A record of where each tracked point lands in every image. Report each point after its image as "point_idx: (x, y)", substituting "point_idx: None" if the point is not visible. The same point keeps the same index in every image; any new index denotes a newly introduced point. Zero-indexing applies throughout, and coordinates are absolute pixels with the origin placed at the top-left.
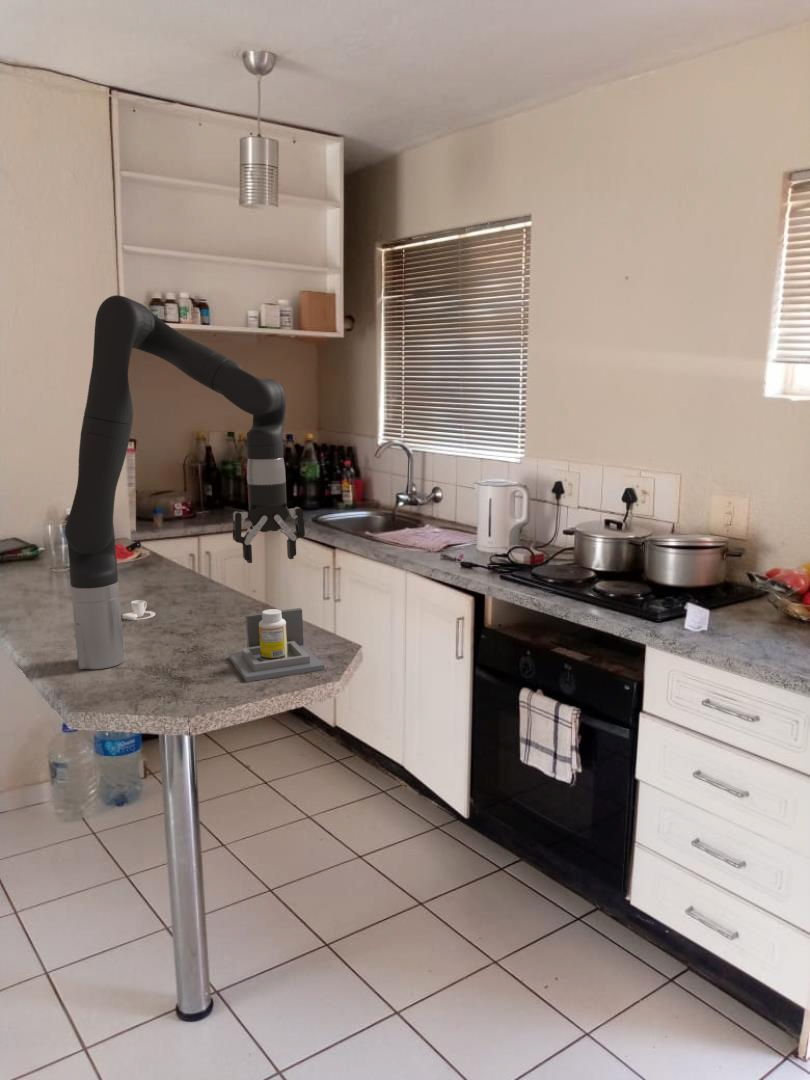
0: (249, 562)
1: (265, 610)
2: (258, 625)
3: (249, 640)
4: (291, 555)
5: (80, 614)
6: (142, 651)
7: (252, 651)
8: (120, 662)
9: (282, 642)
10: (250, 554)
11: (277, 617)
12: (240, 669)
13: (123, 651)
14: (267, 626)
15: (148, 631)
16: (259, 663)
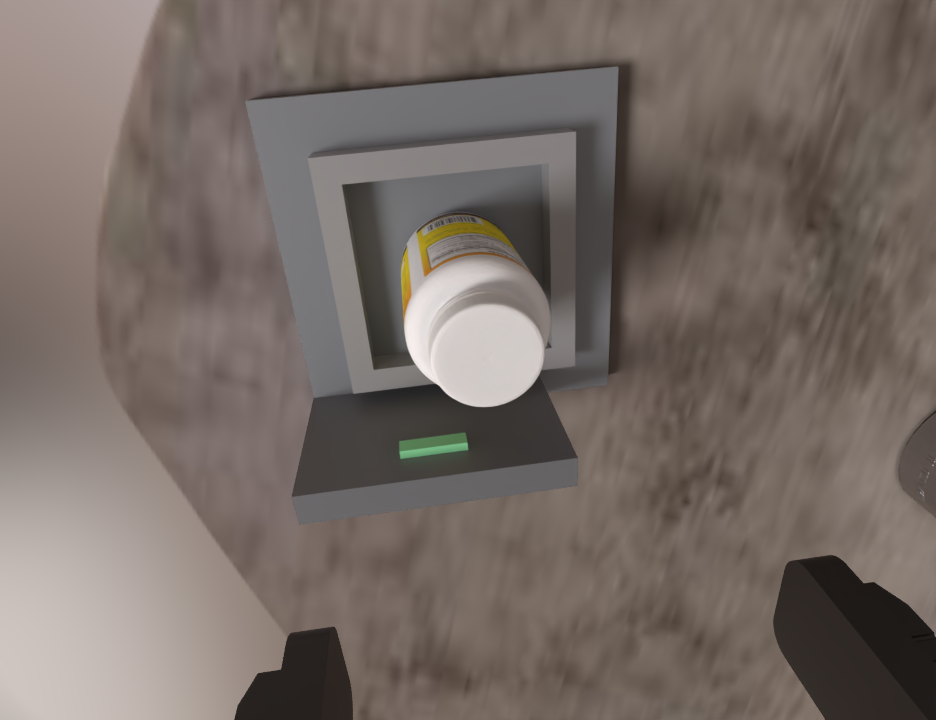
0: (825, 556)
1: (518, 389)
2: (514, 434)
3: (543, 396)
4: (311, 660)
5: None
6: (826, 512)
7: None
8: (930, 420)
9: (431, 242)
10: (881, 636)
11: (461, 300)
12: (614, 181)
13: (933, 459)
14: (518, 268)
15: (754, 660)
16: (551, 137)
